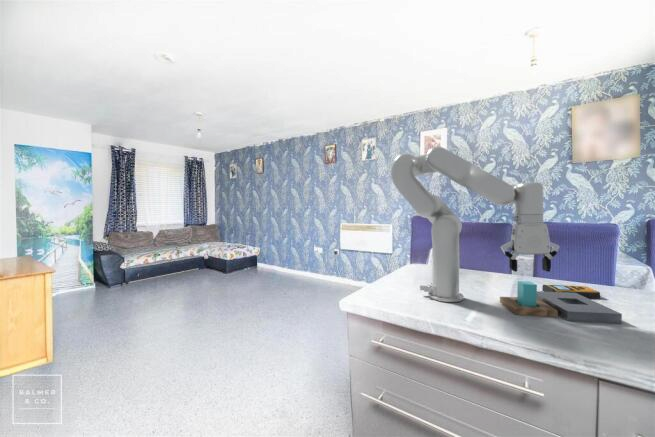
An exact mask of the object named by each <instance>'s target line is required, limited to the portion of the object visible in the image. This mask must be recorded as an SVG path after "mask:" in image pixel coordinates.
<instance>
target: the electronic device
mask: <svg viewBox="0 0 655 437" xmlns="http://www.w3.org/2000/svg"><path fill="white" fill-rule="evenodd" d="M542 292H568V293H577V294H579V295H582V296H584V297H586V298H588V299H598V300H599V299H600V298H601V292H600V291H598V290H596V289H594V288H592V287H589V286H587V285H586V286H585V285H566V284H565V285H559V284H558V285H557V284H543V285H542Z"/></svg>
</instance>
